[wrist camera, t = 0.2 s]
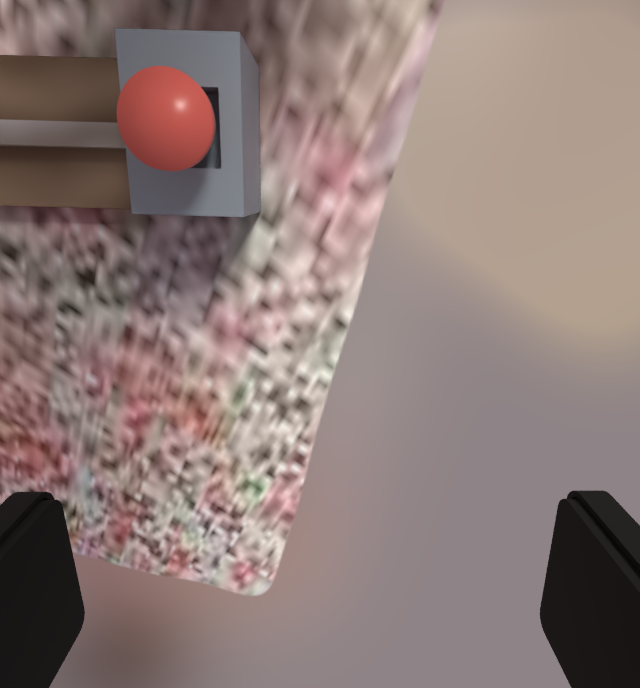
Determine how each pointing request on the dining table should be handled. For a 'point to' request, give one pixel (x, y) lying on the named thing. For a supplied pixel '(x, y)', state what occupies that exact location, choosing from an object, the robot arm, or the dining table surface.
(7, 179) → the board
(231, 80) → the end cabinet
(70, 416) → the dining table surface
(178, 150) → the button
